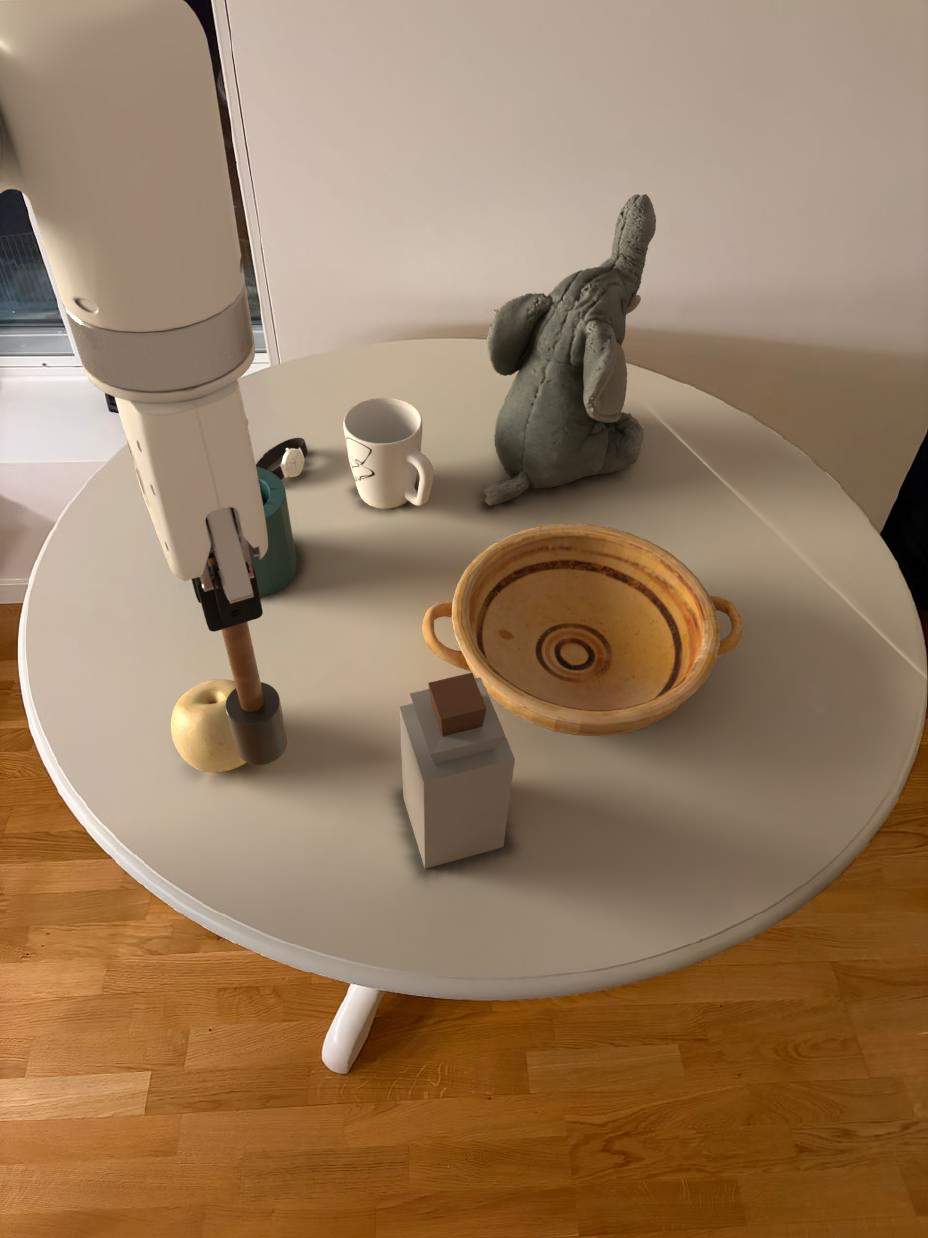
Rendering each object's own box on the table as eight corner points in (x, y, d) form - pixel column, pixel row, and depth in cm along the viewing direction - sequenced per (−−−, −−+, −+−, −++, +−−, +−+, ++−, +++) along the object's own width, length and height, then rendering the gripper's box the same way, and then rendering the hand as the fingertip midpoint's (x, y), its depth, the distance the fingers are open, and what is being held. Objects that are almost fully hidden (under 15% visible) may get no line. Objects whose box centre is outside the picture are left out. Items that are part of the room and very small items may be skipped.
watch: (279, 495, 103) (275, 470, 100) (246, 481, 104) (241, 456, 101) (318, 458, 107) (315, 433, 104) (286, 445, 109) (282, 421, 106)
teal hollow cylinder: (223, 609, 91) (205, 537, 83) (199, 552, 96) (180, 480, 89) (308, 582, 94) (297, 510, 86) (280, 528, 99) (268, 456, 92)
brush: (244, 773, 62) (189, 570, 47) (230, 733, 64) (173, 527, 50) (294, 755, 64) (256, 551, 49) (278, 716, 66) (237, 510, 51)
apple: (204, 805, 76) (150, 739, 72) (202, 755, 83) (154, 693, 79) (285, 758, 76) (236, 691, 73) (277, 713, 83) (232, 649, 80)
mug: (456, 504, 102) (458, 432, 95) (403, 540, 98) (401, 468, 91) (387, 458, 108) (384, 387, 100) (334, 491, 103) (326, 419, 96)
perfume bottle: (403, 799, 77) (397, 669, 64) (478, 779, 79) (487, 648, 65) (424, 869, 73) (423, 746, 59) (503, 847, 74) (519, 722, 61)
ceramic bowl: (696, 574, 96) (713, 518, 90) (758, 769, 80) (785, 717, 74) (419, 580, 94) (418, 524, 88) (426, 781, 78) (426, 729, 72)
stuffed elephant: (617, 399, 117) (655, 186, 97) (650, 506, 103) (704, 285, 83) (470, 402, 116) (478, 187, 95) (484, 511, 102) (497, 287, 81)
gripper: (45, 259, 43) (136, 541, 57) (112, 449, 34) (201, 730, 47) (202, 233, 45) (252, 509, 59) (304, 404, 36) (336, 684, 50)
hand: (229, 606), depth 53 cm, fingers closed on brush
